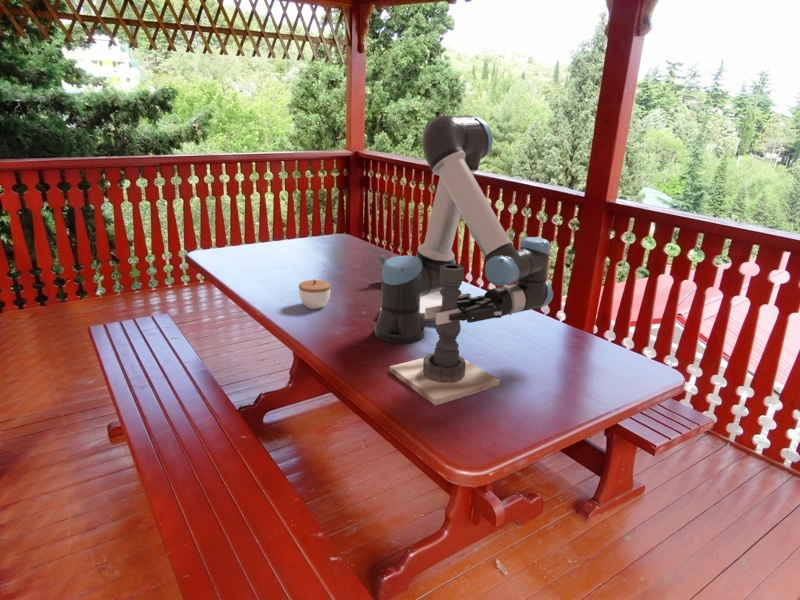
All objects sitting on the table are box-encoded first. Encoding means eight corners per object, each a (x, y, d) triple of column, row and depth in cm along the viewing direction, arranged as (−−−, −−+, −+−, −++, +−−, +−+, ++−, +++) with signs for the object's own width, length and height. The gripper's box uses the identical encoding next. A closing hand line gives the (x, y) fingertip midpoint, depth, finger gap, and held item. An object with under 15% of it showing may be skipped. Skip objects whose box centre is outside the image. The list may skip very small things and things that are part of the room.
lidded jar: (335, 308, 186) (335, 282, 183) (305, 313, 181) (305, 286, 177) (323, 299, 194) (323, 273, 191) (294, 303, 189) (294, 277, 186)
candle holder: (456, 357, 141) (463, 263, 133) (460, 367, 135) (466, 270, 127) (432, 357, 140) (437, 263, 132) (435, 367, 135) (440, 270, 126)
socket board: (389, 371, 142) (390, 354, 140) (450, 355, 153) (451, 339, 151) (435, 405, 126) (436, 386, 125) (499, 385, 137) (501, 367, 135)
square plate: (461, 329, 173) (462, 317, 172) (378, 320, 178) (378, 309, 176) (468, 302, 198) (469, 291, 197) (395, 294, 203) (395, 285, 202)
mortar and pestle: (396, 278, 221) (397, 249, 217) (409, 285, 214) (410, 255, 210) (372, 282, 216) (373, 252, 212) (384, 288, 208) (385, 258, 204)
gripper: (525, 324, 137) (452, 342, 125) (481, 305, 150) (411, 319, 138) (528, 296, 135) (454, 312, 123) (483, 279, 148) (412, 291, 136)
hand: (431, 316), depth 130 cm, fingers closed on candle holder, 4 cm apart
